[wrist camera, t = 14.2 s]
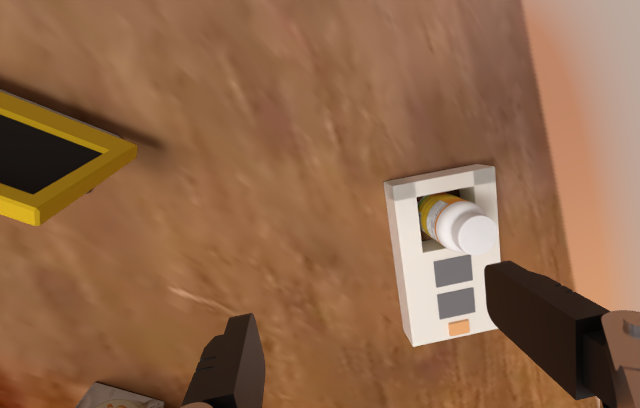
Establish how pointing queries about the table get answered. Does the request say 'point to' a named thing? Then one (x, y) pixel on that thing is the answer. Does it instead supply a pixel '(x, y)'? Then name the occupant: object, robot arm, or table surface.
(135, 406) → the coffee box
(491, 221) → the supplement bottle
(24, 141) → the yellow framed monitor
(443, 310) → the white bottle holder
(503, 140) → the table surface
